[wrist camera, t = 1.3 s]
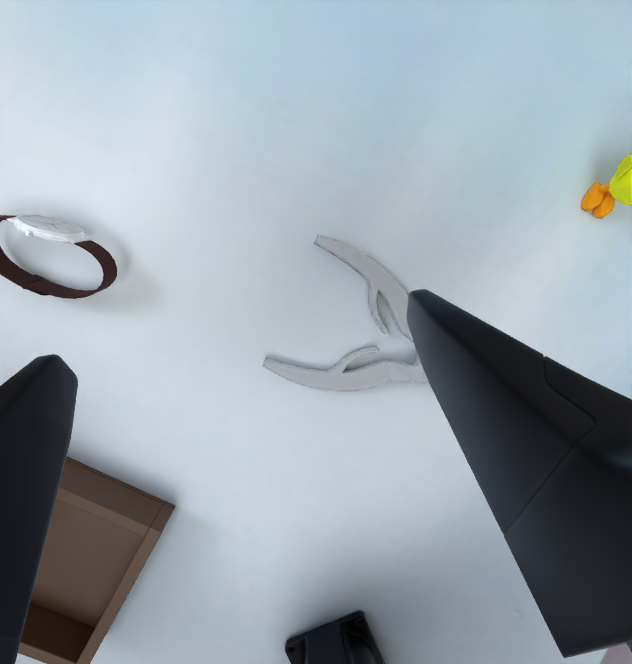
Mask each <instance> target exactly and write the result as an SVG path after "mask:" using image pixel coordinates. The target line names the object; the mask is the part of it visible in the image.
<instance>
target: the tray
mask: <svg viewBox="0 0 632 664" xmlns="http://www.w3.org/2000/svg"><path fill="white" fill-rule="evenodd" d="M174 508H175V506H174V505H172V504H169V503H167V502H165V501H163V500H161V499H158V498H156V497H154V496H152V495H150V494H147V493H145V492H143V491H141V490H139V489H136V488H134V487H132V486H130V485H128V484H125V483H123V482H121V481H119V480H117V479H114V478H112V477H110V476H108V475H106V474H103V473H101V472H99V471H97V470H94V469H92V468H90V467H88V466H86V465H83V464H81V463H79V462H77V461H75V460H72V459H70V458H68V457H66V460H65V464H64V468H63V472H62V476H61V480H60V484H59V488H58V492H57V496H56V500H55V504H54V508H53V512H52V516H51V520H50V524H49V528H48V532H47V536H46V540H45V544H44V548H43V552H42V556H41V560H40V564H39V568H38V572H37V576H36V580H35V584H34V588H33V592H32V596H31V600H30V604H29V608H28V612H27V616H26V620H25V624H24V628H23V632H22V636H21V637H20V638H21V641H20V645H19V649H18V653H20V654H23V655H25V656H28V657H31V658H33V659H36V660H39V661H41V662H44V663H47V664H90V662H91V661H92V659H93V657H94V655H95V653H96V651H97V650H98V648H99V646H100V644H101V642H102V641H103V639H104V637H105V635H106V633H107V631H108V630H109V628H110V626H111V624H112V622H113V620H114V619H115V617H116V615H117V613H118V611H119V610H120V608H121V606H122V604H123V602H124V600H125V599H126V597H127V595H128V593H129V591H130V589H131V588H132V586H133V584H134V582H135V580H136V579H137V577H138V575H139V573H140V571H141V569H142V568H143V566H144V564H145V562H146V560H147V558H148V557H149V555H150V553H151V551H152V549H153V548H154V546H155V544H156V542H157V540H158V538H159V537H160V535H161V533H162V531H163V529H164V527H165V525H166V523H167V521H168V520H169V518H170V516H171V514H172V512H173V510H174Z"/></svg>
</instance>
